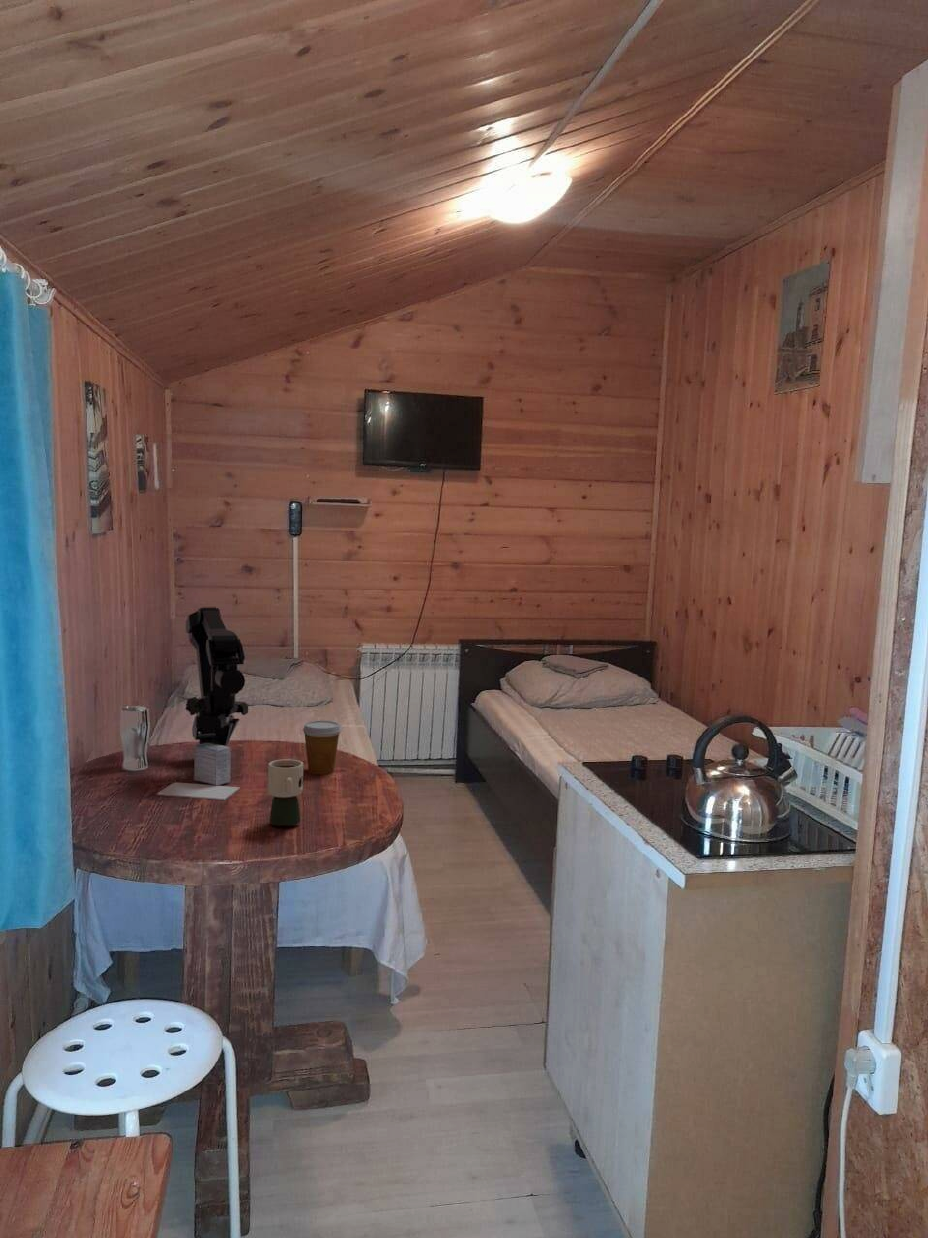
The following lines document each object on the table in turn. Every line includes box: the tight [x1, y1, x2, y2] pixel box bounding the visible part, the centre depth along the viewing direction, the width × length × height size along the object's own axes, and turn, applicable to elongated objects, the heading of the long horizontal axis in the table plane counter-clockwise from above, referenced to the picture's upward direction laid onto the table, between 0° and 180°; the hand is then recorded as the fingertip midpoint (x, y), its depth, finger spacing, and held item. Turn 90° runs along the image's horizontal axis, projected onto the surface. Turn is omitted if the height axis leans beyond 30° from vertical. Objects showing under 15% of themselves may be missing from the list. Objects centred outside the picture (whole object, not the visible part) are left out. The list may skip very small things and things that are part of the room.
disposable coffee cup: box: [302, 720, 342, 775], centre depth 229 cm, size 10×10×12 cm
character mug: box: [267, 758, 304, 828], centre depth 189 cm, size 11×7×13 cm, turn 20°
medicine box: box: [193, 743, 232, 786], centre depth 216 cm, size 8×4×9 cm, turn 57°
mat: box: [156, 781, 240, 801], centre depth 209 cm, size 9×16×1 cm, turn 82°
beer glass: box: [119, 705, 151, 772], centre depth 226 cm, size 7×7×15 cm
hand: (222, 749), depth 222 cm, fingers closed
